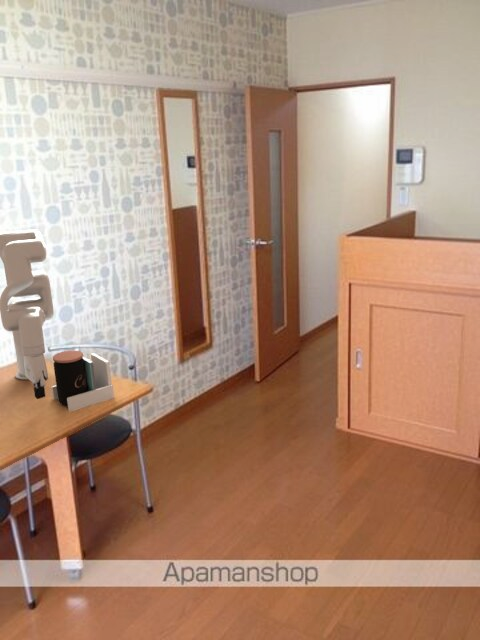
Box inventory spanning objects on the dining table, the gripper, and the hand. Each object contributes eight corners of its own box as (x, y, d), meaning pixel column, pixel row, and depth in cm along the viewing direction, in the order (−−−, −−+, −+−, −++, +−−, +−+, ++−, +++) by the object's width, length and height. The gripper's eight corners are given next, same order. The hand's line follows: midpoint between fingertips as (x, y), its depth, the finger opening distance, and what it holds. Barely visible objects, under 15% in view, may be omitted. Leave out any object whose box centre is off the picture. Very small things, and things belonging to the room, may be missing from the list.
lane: (53, 398, 223) (48, 363, 219) (96, 386, 233) (92, 352, 229) (69, 411, 211) (64, 374, 207) (114, 397, 222) (110, 362, 218)
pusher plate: (80, 391, 227) (75, 354, 223) (83, 390, 228) (78, 353, 224) (94, 401, 218) (89, 363, 214) (97, 400, 219) (92, 362, 215)
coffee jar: (81, 408, 214) (75, 361, 209) (53, 407, 216) (47, 360, 210) (93, 395, 224) (87, 350, 219) (66, 395, 226) (60, 350, 221)
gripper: (15, 345, 210) (22, 393, 216) (30, 357, 199) (37, 407, 204) (36, 340, 214) (42, 387, 220) (52, 352, 203) (58, 401, 209)
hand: (40, 397), depth 212 cm, fingers closed
